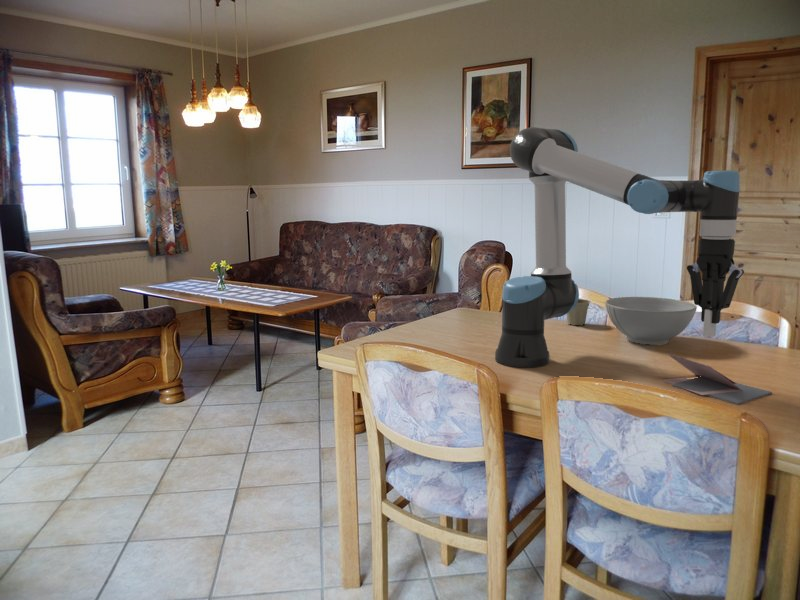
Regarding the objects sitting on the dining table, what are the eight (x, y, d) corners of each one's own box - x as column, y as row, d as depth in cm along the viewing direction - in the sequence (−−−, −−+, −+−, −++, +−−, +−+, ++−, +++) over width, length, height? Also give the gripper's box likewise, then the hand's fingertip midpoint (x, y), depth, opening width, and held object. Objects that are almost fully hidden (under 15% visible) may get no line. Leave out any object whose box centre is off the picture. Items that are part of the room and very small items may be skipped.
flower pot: (557, 322, 219) (558, 299, 217) (579, 320, 222) (580, 298, 220) (572, 327, 210) (573, 303, 209) (594, 325, 213) (595, 302, 211)
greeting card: (697, 372, 154) (744, 387, 139) (682, 396, 154) (727, 414, 139) (667, 350, 151) (712, 363, 136) (652, 374, 150) (695, 390, 136)
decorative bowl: (587, 339, 192) (588, 303, 190) (630, 327, 209) (632, 294, 207) (668, 356, 172) (671, 315, 170) (708, 341, 189) (711, 303, 187)
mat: (737, 404, 131) (737, 402, 131) (672, 385, 145) (672, 384, 145) (771, 393, 138) (771, 391, 138) (706, 376, 152) (706, 375, 152)
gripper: (754, 238, 135) (745, 339, 139) (700, 235, 146) (693, 329, 150) (735, 240, 132) (726, 343, 136) (681, 237, 143) (674, 332, 147)
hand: (709, 335), depth 143 cm, fingers closed
